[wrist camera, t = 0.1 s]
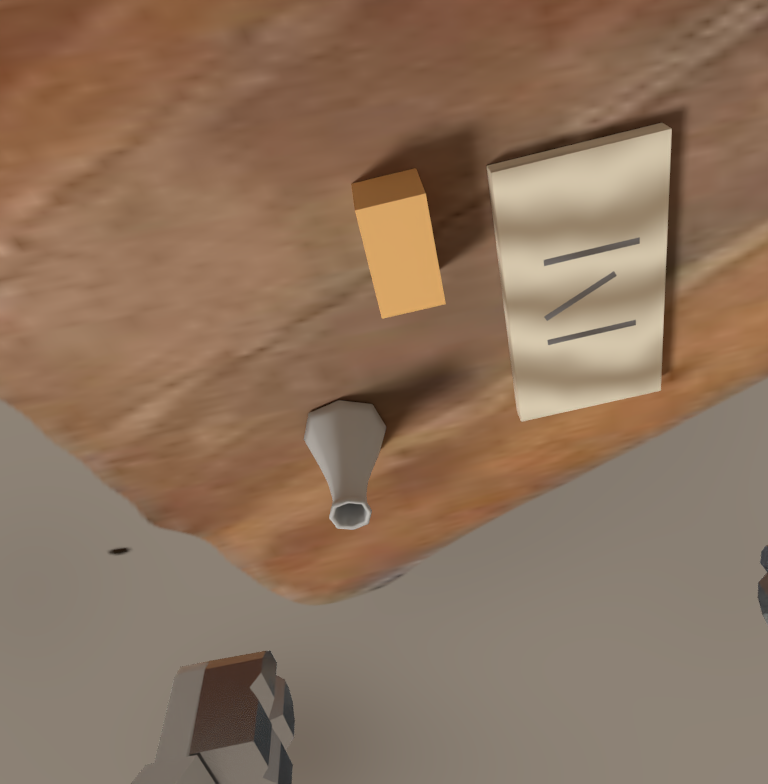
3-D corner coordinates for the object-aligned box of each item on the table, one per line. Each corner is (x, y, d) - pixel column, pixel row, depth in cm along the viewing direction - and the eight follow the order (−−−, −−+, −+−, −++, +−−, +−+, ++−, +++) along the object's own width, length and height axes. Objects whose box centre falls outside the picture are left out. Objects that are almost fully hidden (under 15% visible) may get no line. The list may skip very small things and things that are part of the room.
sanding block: (351, 183, 46) (354, 210, 42) (415, 167, 46) (425, 193, 42) (376, 285, 51) (381, 318, 47) (434, 271, 50) (445, 303, 46)
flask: (381, 392, 56) (393, 474, 48) (390, 455, 61) (402, 540, 53) (296, 404, 56) (293, 488, 48) (311, 467, 61) (311, 553, 53)
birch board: (486, 165, 46) (491, 172, 45) (662, 122, 45) (671, 128, 44) (516, 410, 59) (521, 421, 58) (653, 380, 58) (660, 390, 57)
